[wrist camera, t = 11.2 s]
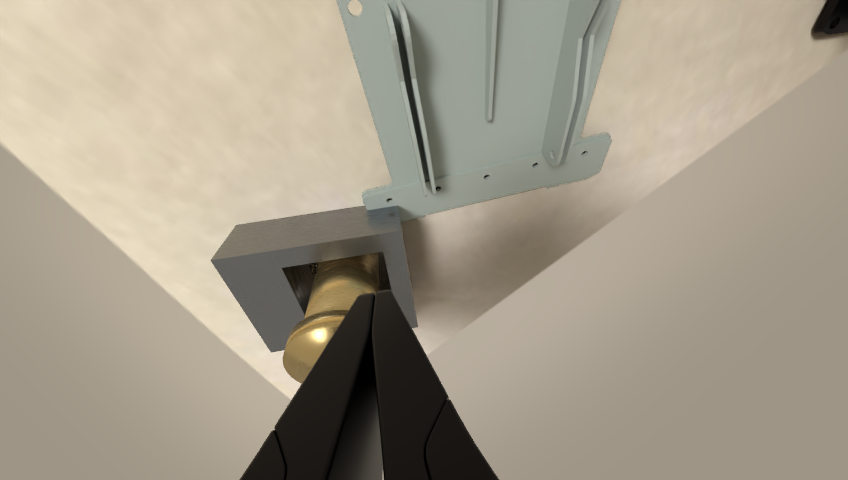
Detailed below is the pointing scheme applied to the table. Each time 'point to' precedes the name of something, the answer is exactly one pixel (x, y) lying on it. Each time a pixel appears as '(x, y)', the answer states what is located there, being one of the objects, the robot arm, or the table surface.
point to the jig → (307, 263)
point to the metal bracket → (479, 95)
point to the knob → (328, 308)
